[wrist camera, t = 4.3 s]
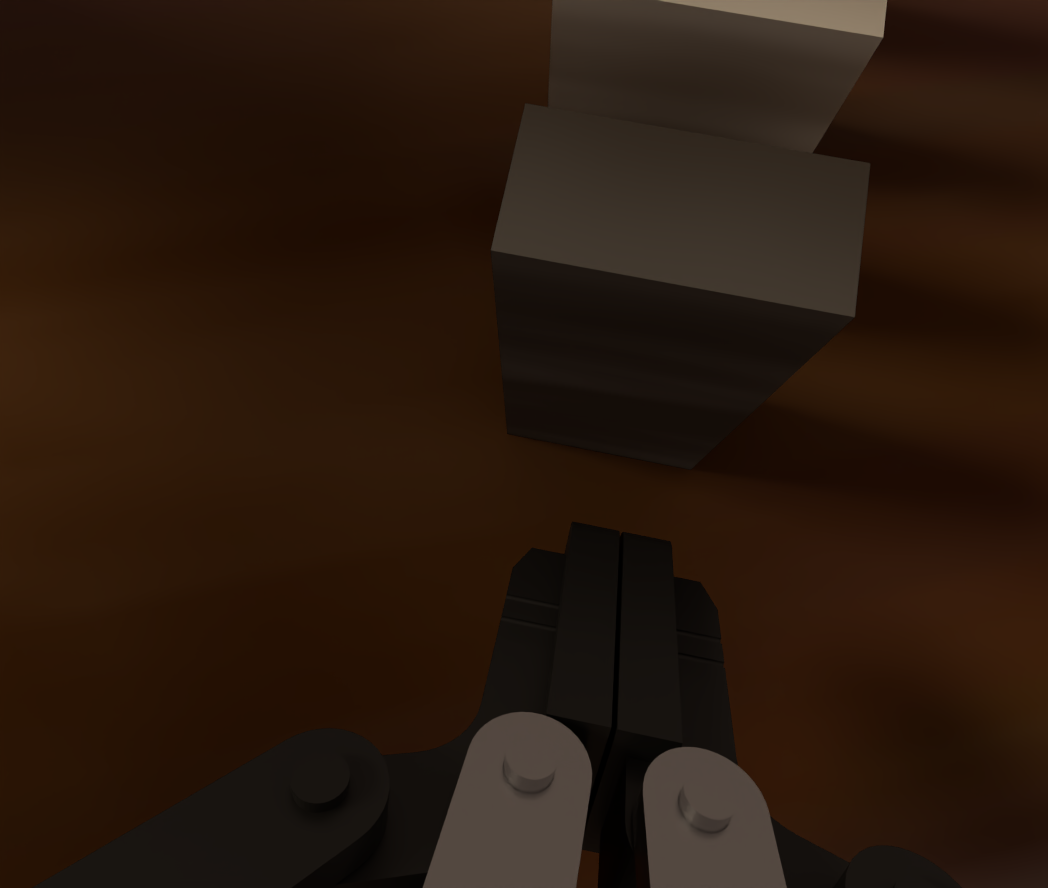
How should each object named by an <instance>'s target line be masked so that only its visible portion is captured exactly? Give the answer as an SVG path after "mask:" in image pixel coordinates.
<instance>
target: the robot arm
mask: <svg viewBox="0 0 1048 888" xmlns="http://www.w3.org/2000/svg"><path fill="white" fill-rule="evenodd" d="M720 640H721V634H720V626H719V618H718V610H717V608H716V606H715V605H714V603H713V602H712V600H711V599H710V597H709V595H708V594H707V592H706V591H705V589H704V587H703V586H702V584H701V583H700V582H697V581H692V580H687V579H683V578H678V577H673V560H672V545H671V542H670V541H666V540H661V539H656V538H651V537H646V536H641V535H636V534H631V533H626V532H622V533H621V536H620V534H619V531H617V530H612V529H607V528H602V527H597V526H592V525H587V524H582V523H577V522H572V524H571V527H570V532H569V536H568V541H567V545H566V550H565V554H560V553H555V552H550V551H545V550H540V549H535V548H531V549H530V550H529V551H528V553H527V554H526V555H525V556H524V557H523V558H522V559H521V560H520V561H519V562H518V563H517V564H516V565H515V566H514V567H513V570H512V574H511V578H510V583H509V587H508V591H507V596H506V600H505V604H504V608H503V613H502V617H501V621H500V625H499V630H498V634H497V638H496V643H495V647H494V651H493V655H492V660H491V664H490V668H489V672H488V677H487V681H486V685H485V690H484V694H483V698H482V702H481V706H480V709H479V712H478V714H477V716H476V717H475V719H474V721H473V722H472V724H471V725H470V726H469V727H468V729H467V730H465V731H464V732H463V733H462V734H461V735H460V736H459V737H457V738H456V739H454V740H453V741H451V742H449V743H447V744H445V745H443V746H441V747H438V748H434V749H431V750H427V751H421V752H414V753H404V754H393V755H383V756H382V755H381V753H380V752H379V750H378V749H377V748H376V747H375V746H374V745H373V744H372V743H371V742H369V741H368V740H366V739H365V738H364V737H362V736H360V735H358V734H355V733H353V732H350V731H346V730H342V729H333V728H327V729H316V730H311V731H307V732H304V733H301V734H298V735H295V736H293V737H291V738H289V739H287V740H285V741H284V742H282V743H280V744H279V745H277V746H275V747H273V748H272V749H270V750H268V751H267V752H265V753H263V754H261V755H260V756H258V757H256V758H254V759H253V760H251V761H249V762H248V763H246V764H244V765H242V766H241V767H239V768H237V769H236V770H234V771H232V772H230V773H229V774H227V775H225V776H224V777H222V778H220V779H218V780H217V781H215V782H213V783H212V784H210V785H208V786H206V787H205V788H203V789H201V790H199V791H198V792H196V793H194V794H193V795H191V796H189V797H187V798H186V799H184V800H182V801H181V802H179V803H177V804H175V805H174V806H172V807H170V808H169V809H167V810H165V811H163V812H162V813H160V814H158V815H157V816H155V817H153V818H151V819H150V820H148V821H146V822H144V823H143V824H141V825H139V826H138V827H136V828H134V829H132V830H131V831H129V832H127V833H126V834H124V835H122V836H120V837H119V838H117V839H115V840H114V841H112V842H110V843H108V844H107V845H105V846H103V847H102V848H100V849H98V850H96V851H95V852H93V853H91V854H89V855H88V856H86V857H84V858H83V859H81V860H79V861H77V862H76V863H74V864H72V865H71V866H69V867H67V868H65V869H64V870H62V871H60V872H59V873H57V874H55V875H53V876H52V877H50V878H48V879H47V880H45V881H43V882H41V883H40V884H38V885H36V886H34V887H33V888H576V883H577V876H578V870H579V863H580V857H581V850H582V849H583V850H587V851H592V852H596V853H599V873H598V888H961V886H960V885H959V884H958V883H956V882H955V881H954V880H953V879H952V878H951V877H950V876H949V875H948V874H947V873H946V872H944V871H943V870H942V869H940V868H939V867H938V866H936V865H935V864H934V863H932V862H930V861H929V860H927V859H925V858H924V857H922V856H920V855H918V854H915V853H913V852H911V851H908V850H905V849H902V848H899V847H893V846H874V847H869V848H867V849H865V850H863V851H861V852H859V853H858V854H857V855H856V856H855V857H854V858H853V859H852V861H851V862H850V863H849V862H847V861H845V860H843V859H841V858H839V857H837V856H835V855H834V854H832V853H830V852H828V851H826V850H824V849H822V848H820V847H819V846H817V845H815V844H813V843H811V842H809V841H807V840H805V839H803V838H802V837H800V836H798V835H796V834H794V833H793V832H791V831H789V830H788V829H786V828H785V827H783V826H782V825H781V824H779V823H778V822H777V821H775V820H774V819H773V818H772V817H771V816H770V814H769V811H768V808H767V805H766V802H765V800H764V798H763V796H762V794H761V792H760V790H759V789H758V787H757V786H756V784H755V783H754V782H753V780H752V779H751V778H750V777H749V776H748V775H747V774H746V773H745V772H744V771H743V770H742V769H741V768H740V767H739V766H738V764H737V759H736V752H735V744H734V736H733V728H732V720H731V712H730V704H729V697H728V689H727V681H726V673H725V668H723V664H724V657H723V650H722V644H720Z"/></svg>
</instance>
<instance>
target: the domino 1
mask: <svg viewBox="0 0 1048 888" xmlns="http://www.w3.org/2000/svg"><path fill="white" fill-rule="evenodd" d="M886 6H887V0H553V1H552V24H551V47H550V70H549V93H548V107H549V108H555V109H561V110H567V111H573V112H578V113H584V114H590V115H596V116H601V117H607V118H613V119H619V120H624V121H630V122H636V123H642V124H647V125H653V126H659V127H665V128H670V129H676V130H682V131H688V132H693V133H699V134H705V135H711V136H716V137H722V138H728V139H734V140H739V141H745V142H751V143H757V144H762V145H768V146H774V147H780V148H786V149H791V150H797V151H803V152H809V153H813V151H814V150H815V148H816V146H817V145H818V143H819V141H820V140H821V138H822V137H823V135H824V133H825V132H826V130H827V128H828V127H829V125H830V124H831V122H832V120H833V119H834V117H835V115H836V114H837V112H838V110H839V109H840V107H841V106H842V104H843V102H844V101H845V99H846V97H847V96H848V94H849V93H850V91H851V89H852V88H853V86H854V84H855V83H856V81H857V79H858V78H859V76H860V75H861V73H862V71H863V70H864V68H865V66H866V65H867V63H868V62H869V60H870V58H871V57H872V55H873V53H874V52H875V50H876V48H877V47H878V45H879V44H880V42H881V40H882V39H883V35H884V25H885V15H886Z"/></svg>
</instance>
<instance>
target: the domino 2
mask: <svg viewBox="0 0 1048 888" xmlns="http://www.w3.org/2000/svg"><path fill="white" fill-rule="evenodd" d="M869 173H870V163H866V162H860V161H855V160H849V159H843V158H837V157H832V156H826V155H820V154H814V153H809V152H803V151H797V150H791V149H786V148H780V147H774V146H768V145H762V144H757V143H751V142H745V141H739V140H734V139H728V138H722V137H716V136H711V135H705V134H699V133H693V132H688V131H682V130H676V129H670V128H665V127H659V126H653V125H647V124H642V123H636V122H630V121H624V120H619V119H613V118H607V117H601V116H596V115H590V114H584V113H578V112H573V111H567V110H561V109H555V108H549V107H544V106H538V105H532V104H526V103H525V107H524V111H523V115H522V120H521V124H520V128H519V132H518V137H517V141H516V145H515V149H514V154H513V158H512V162H511V166H510V171H509V175H508V179H507V183H506V188H505V192H504V196H503V200H502V205H501V209H500V213H499V217H498V222H497V226H496V230H495V234H494V239H493V243H492V247H491V258H492V269H493V280H494V291H495V302H496V313H497V324H498V335H499V346H500V357H501V368H502V379H503V390H504V401H505V412H506V423H507V434H512V435H517V436H522V437H527V438H532V439H537V440H542V441H547V442H552V443H557V444H563V445H568V446H573V447H578V448H583V449H588V450H593V451H598V452H603V453H608V454H614V455H619V456H624V457H629V458H634V459H639V460H644V461H649V462H654V463H659V464H664V465H670V466H675V467H680V468H685V469H690V470H691V469H692V468H693V467H694V466H695V465H696V464H697V463H698V462H699V461H700V460H702V459H703V458H704V457H705V456H706V455H707V454H708V453H709V452H710V451H711V450H712V449H713V448H714V447H716V446H717V445H718V444H719V443H720V442H721V441H722V440H723V439H724V438H725V437H726V436H727V435H728V434H730V433H731V432H732V431H733V430H734V429H735V428H736V427H737V426H738V425H739V424H740V423H741V422H742V421H744V420H745V419H746V418H747V417H748V416H749V415H750V414H751V413H752V412H753V411H754V410H755V409H756V408H758V407H759V406H760V405H761V404H762V403H763V402H764V401H765V400H766V399H767V398H768V397H769V396H770V395H772V394H773V393H774V392H775V391H776V390H777V389H778V388H779V387H780V386H781V385H782V384H783V383H784V382H786V381H787V380H788V379H789V378H790V377H791V376H792V375H793V374H794V373H795V372H796V371H797V370H798V369H800V368H801V367H802V366H803V365H804V364H805V363H806V362H807V361H808V360H809V359H810V358H811V357H812V356H814V355H815V354H816V353H817V352H818V351H819V350H820V349H821V348H822V347H823V346H824V345H825V344H826V343H828V342H829V341H830V340H831V339H832V338H833V337H834V336H835V335H836V334H837V333H838V332H839V331H840V330H842V329H843V328H844V327H845V326H846V325H847V324H848V323H849V322H850V321H851V320H852V319H853V318H854V317H855V310H856V300H857V290H858V280H859V271H860V261H861V251H862V241H863V231H864V222H865V212H866V202H867V192H868V182H869Z"/></svg>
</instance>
